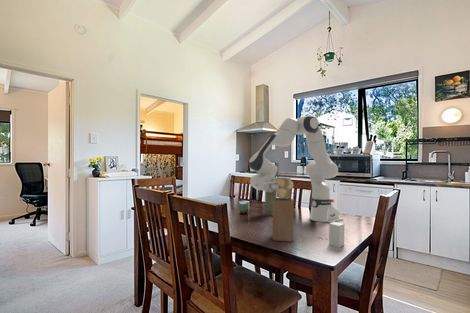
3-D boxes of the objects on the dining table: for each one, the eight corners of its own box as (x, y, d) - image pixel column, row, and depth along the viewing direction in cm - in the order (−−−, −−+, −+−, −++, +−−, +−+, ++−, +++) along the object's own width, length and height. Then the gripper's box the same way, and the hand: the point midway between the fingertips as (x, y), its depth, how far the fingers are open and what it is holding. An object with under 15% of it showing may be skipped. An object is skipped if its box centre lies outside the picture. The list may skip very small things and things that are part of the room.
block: (293, 242, 123) (293, 201, 123) (272, 241, 125) (272, 200, 125) (292, 236, 133) (293, 198, 133) (273, 235, 135) (273, 197, 135)
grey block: (334, 242, 124) (334, 221, 124) (344, 244, 120) (344, 223, 120) (329, 244, 121) (329, 223, 121) (339, 247, 117) (339, 225, 117)
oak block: (284, 196, 132) (284, 177, 132) (290, 197, 128) (290, 177, 128) (276, 196, 130) (276, 177, 130) (282, 198, 125) (282, 178, 125)
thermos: (263, 212, 190) (264, 165, 190) (279, 213, 186) (279, 166, 186) (260, 214, 182) (261, 166, 182) (277, 216, 178) (277, 166, 178)
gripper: (252, 178, 136) (267, 181, 123) (283, 177, 145) (300, 179, 133) (252, 190, 136) (267, 194, 123) (283, 188, 145) (299, 191, 133)
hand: (284, 186), depth 128 cm, fingers closed on oak block, 5 cm apart
